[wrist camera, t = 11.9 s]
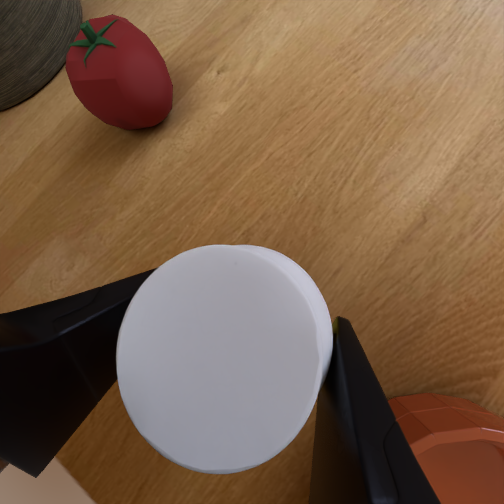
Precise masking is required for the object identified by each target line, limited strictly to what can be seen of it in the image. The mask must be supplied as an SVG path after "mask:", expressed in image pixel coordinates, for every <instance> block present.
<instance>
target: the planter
mask: <svg viewBox="0 0 504 504" xmlns="http://www.w3.org/2000/svg"><path fill="white" fill-rule="evenodd" d="M81 23H82V9H81V4H80V1H79V0H0V111H1V110H3V109H6V108H9V107H11V106H14V105H16V104H18V103H20V102H21V101H23V100H25V99H26V98H28V97H30V96H31V95H33V94H34V93H35V92H37V91H38V90H39V89H40V88H42V87H43V86H44V85H45V84H46V83H47V82H48V81H49V80H50V79H51V78H52V77H53V76H54V75H55V74H56V73H57V72H58V71H59V70H60V68H61V67H62V66H63V64H64V63H65V62H66V56H67V53H68V51H69V49H70V47H69V45H70V44H71V43H73V42H74V41H75V39H76V37H77V36H78V34H79V32H80V25H81ZM68 47H69V48H68ZM67 48H68V49H67Z"/></svg>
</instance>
